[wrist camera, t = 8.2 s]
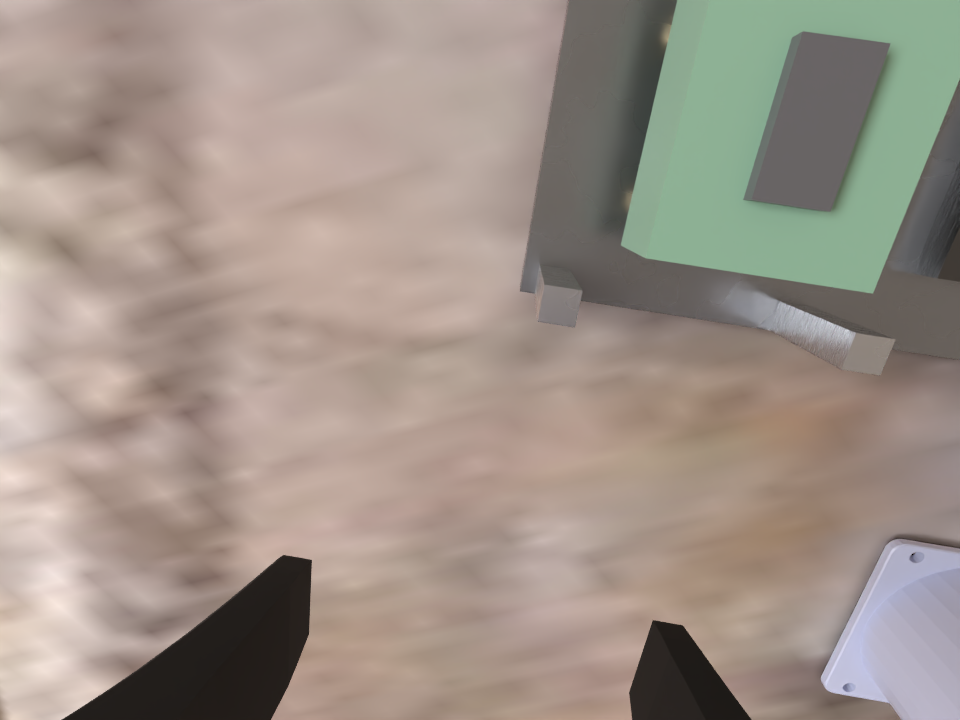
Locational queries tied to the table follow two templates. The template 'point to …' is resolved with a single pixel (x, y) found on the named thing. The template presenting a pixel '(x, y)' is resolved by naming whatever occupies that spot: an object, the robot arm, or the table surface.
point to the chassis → (698, 290)
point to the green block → (792, 134)
